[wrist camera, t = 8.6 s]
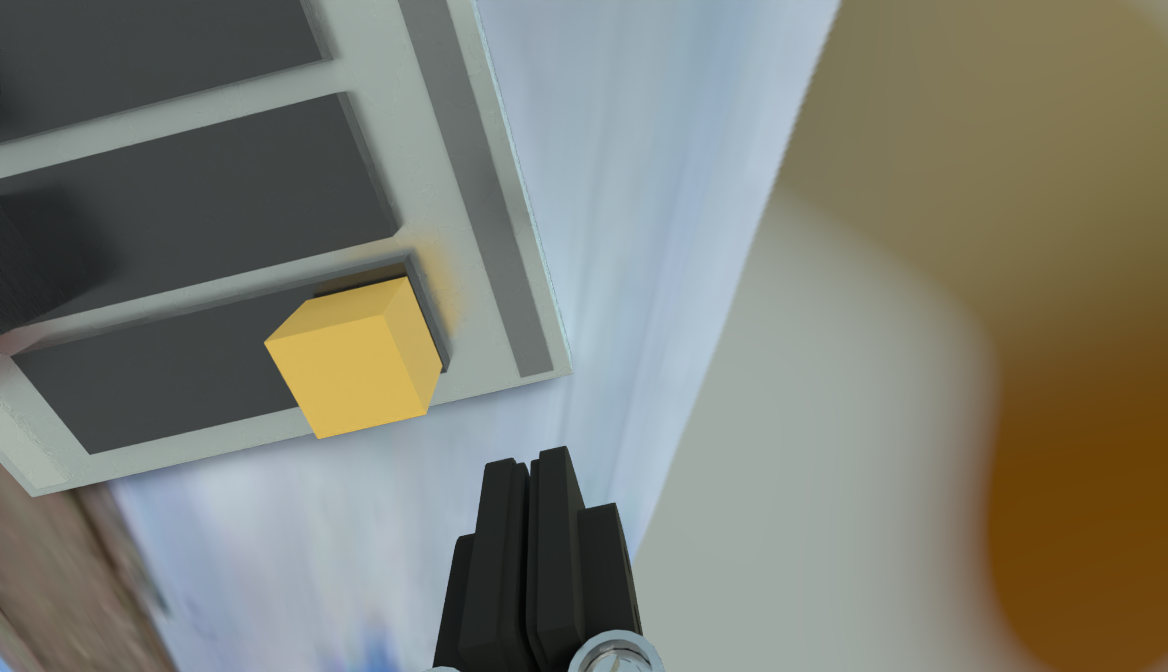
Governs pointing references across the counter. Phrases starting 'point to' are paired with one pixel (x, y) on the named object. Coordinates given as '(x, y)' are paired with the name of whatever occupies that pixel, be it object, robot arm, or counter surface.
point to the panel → (243, 216)
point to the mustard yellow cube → (358, 358)
